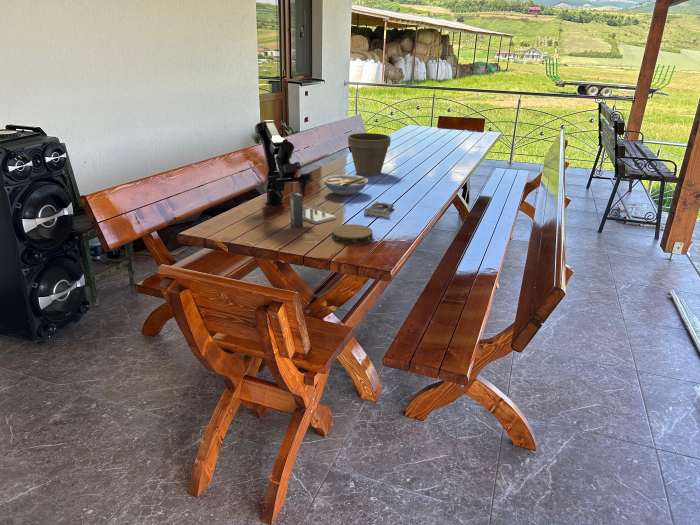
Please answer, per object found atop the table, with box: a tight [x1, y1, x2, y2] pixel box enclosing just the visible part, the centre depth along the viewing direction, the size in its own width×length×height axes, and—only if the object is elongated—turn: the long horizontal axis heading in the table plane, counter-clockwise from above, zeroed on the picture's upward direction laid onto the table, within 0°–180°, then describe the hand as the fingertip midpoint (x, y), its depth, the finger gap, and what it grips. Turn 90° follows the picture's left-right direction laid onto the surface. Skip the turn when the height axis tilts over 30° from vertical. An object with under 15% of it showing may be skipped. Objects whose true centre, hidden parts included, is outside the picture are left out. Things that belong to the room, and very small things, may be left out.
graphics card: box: [363, 201, 394, 219], centre depth 237 cm, size 17×4×12 cm
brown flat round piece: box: [331, 223, 373, 245], centre depth 205 cm, size 16×16×3 cm
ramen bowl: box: [323, 174, 370, 197], centre depth 264 cm, size 25×23×8 cm
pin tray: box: [302, 202, 336, 225], centre depth 228 cm, size 16×11×5 cm
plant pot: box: [347, 132, 392, 176], centre depth 307 cm, size 25×25×22 cm
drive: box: [289, 192, 304, 228], centre depth 216 cm, size 5×4×13 cm
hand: (293, 197), depth 217 cm, fingers open, 9 cm apart
